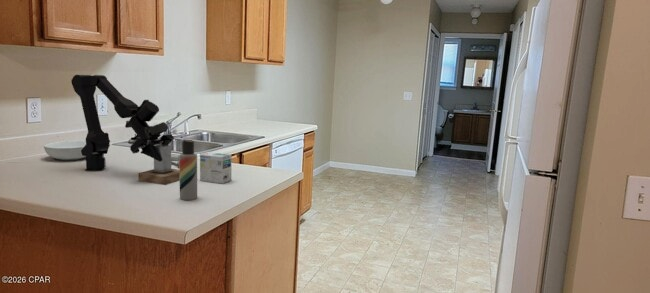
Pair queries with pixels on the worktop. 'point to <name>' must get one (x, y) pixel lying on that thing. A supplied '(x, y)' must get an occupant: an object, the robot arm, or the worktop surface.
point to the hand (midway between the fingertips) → (165, 159)
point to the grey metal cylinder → (175, 158)
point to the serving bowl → (65, 149)
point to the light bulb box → (215, 167)
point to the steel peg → (163, 159)
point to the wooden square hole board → (159, 177)
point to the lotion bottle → (188, 171)
